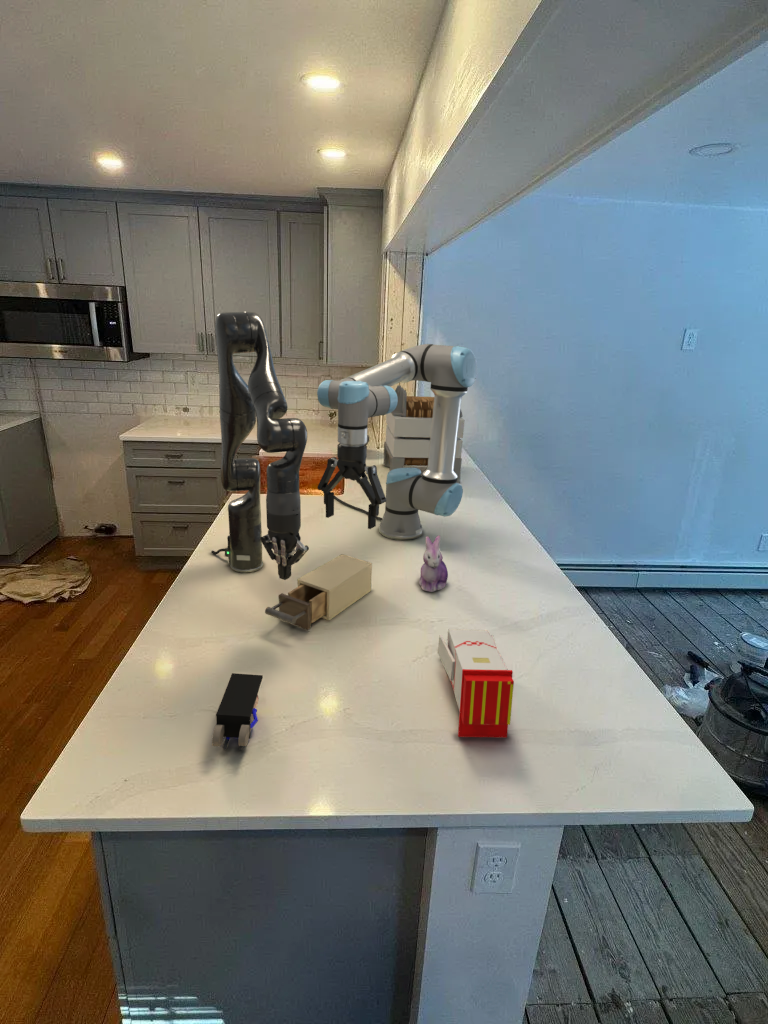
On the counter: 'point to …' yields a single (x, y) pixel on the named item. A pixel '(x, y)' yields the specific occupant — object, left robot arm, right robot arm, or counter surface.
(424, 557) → the figurine
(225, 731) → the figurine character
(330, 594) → the cabinet
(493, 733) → the toy
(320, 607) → the drawer
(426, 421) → the grey slatted crate
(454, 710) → the counter surface
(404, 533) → the right robot arm
